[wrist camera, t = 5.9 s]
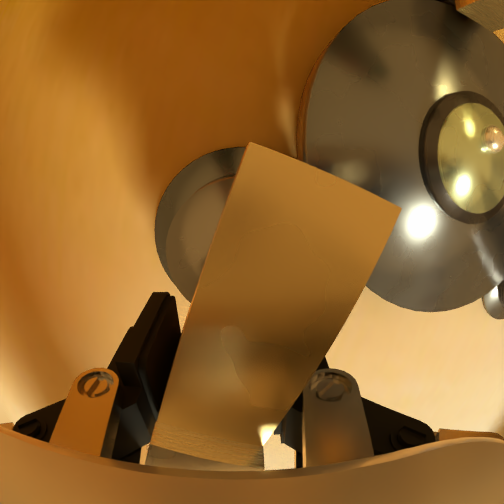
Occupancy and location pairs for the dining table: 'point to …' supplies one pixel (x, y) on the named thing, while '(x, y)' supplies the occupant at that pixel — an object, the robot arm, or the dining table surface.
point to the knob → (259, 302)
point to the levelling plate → (404, 148)
